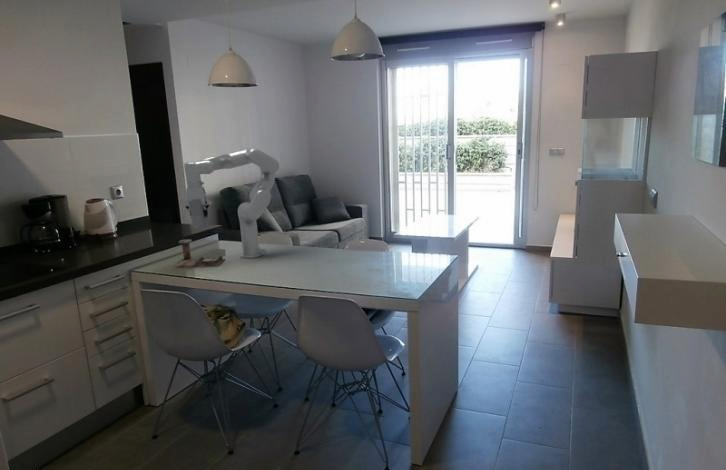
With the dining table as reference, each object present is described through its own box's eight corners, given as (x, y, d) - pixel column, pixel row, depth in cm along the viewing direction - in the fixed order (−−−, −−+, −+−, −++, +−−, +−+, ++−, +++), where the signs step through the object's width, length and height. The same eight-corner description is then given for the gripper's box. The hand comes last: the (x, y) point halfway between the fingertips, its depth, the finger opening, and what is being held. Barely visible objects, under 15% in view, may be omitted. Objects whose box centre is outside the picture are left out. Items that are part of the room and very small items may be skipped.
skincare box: (204, 228, 270) (200, 199, 266) (191, 228, 270) (187, 200, 267) (209, 224, 278) (205, 197, 274) (197, 225, 278) (193, 197, 275)
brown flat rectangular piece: (225, 260, 284) (224, 255, 283) (218, 266, 272) (218, 260, 272) (184, 262, 285) (183, 257, 284) (175, 267, 273) (174, 262, 273)
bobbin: (195, 258, 291) (193, 239, 289) (191, 262, 284) (188, 241, 282) (184, 259, 291) (181, 239, 289) (179, 262, 284) (176, 242, 282)
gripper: (212, 182, 272) (217, 214, 276) (181, 185, 273) (186, 216, 277) (207, 184, 265) (212, 217, 269) (176, 186, 266) (181, 219, 270)
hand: (199, 216), depth 273 cm, fingers closed on skincare box, 6 cm apart
